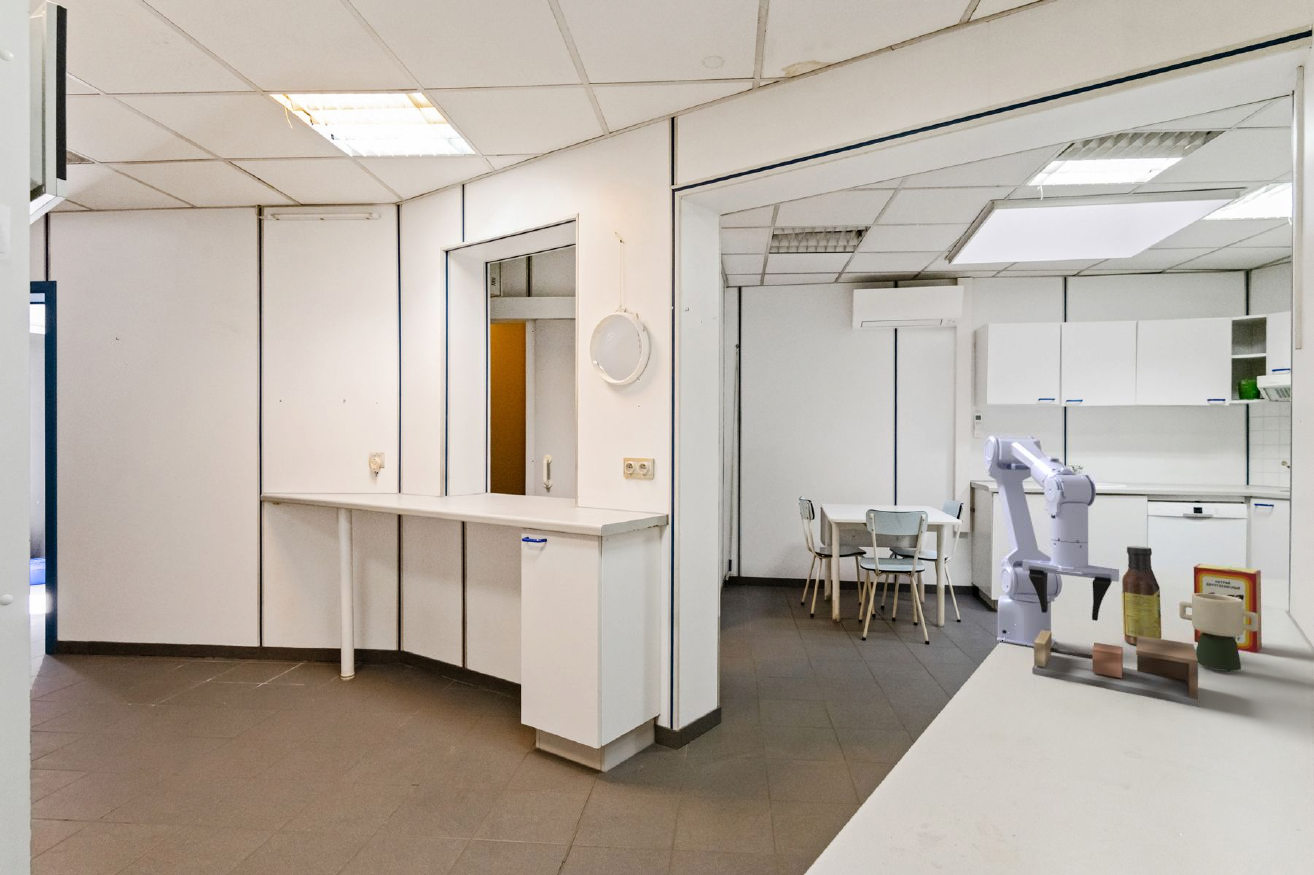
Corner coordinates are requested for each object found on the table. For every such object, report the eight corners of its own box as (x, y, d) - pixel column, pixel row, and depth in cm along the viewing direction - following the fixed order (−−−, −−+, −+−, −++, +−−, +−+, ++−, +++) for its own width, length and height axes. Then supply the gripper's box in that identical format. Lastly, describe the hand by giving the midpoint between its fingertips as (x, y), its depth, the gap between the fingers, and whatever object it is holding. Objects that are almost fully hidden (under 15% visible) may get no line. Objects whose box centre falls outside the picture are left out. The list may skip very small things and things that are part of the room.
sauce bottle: (1168, 650, 124) (1167, 550, 124) (1133, 647, 125) (1132, 548, 126) (1149, 640, 130) (1148, 545, 131) (1116, 638, 131) (1115, 544, 132)
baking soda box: (1194, 641, 130) (1193, 565, 130) (1200, 636, 134) (1199, 562, 134) (1257, 653, 123) (1256, 572, 123) (1261, 647, 127) (1260, 568, 127)
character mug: (1263, 673, 111) (1262, 600, 111) (1254, 682, 106) (1253, 605, 107) (1185, 657, 119) (1184, 589, 120) (1174, 664, 115) (1173, 593, 116)
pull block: (1034, 665, 109) (1034, 642, 109) (1041, 652, 117) (1041, 630, 117) (1121, 682, 102) (1121, 657, 102) (1123, 666, 109) (1122, 643, 110)
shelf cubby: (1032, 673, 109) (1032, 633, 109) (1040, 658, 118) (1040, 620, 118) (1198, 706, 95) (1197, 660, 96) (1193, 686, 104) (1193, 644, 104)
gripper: (1019, 538, 115) (1019, 612, 114) (1117, 547, 105) (1117, 627, 105) (1026, 535, 120) (1026, 605, 120) (1119, 543, 111) (1119, 619, 111)
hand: (1069, 615), depth 113 cm, fingers open, 7 cm apart
